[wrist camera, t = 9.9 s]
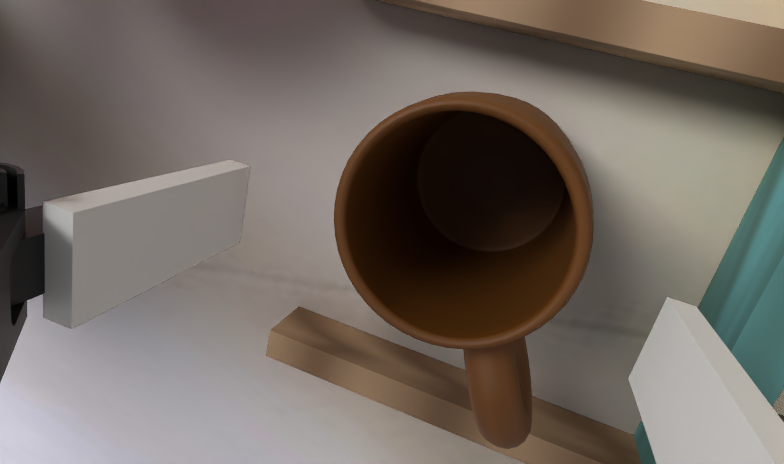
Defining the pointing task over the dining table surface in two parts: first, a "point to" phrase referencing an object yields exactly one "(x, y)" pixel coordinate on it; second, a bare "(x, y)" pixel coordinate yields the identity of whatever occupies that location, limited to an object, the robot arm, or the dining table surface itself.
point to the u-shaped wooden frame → (720, 303)
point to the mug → (468, 237)
